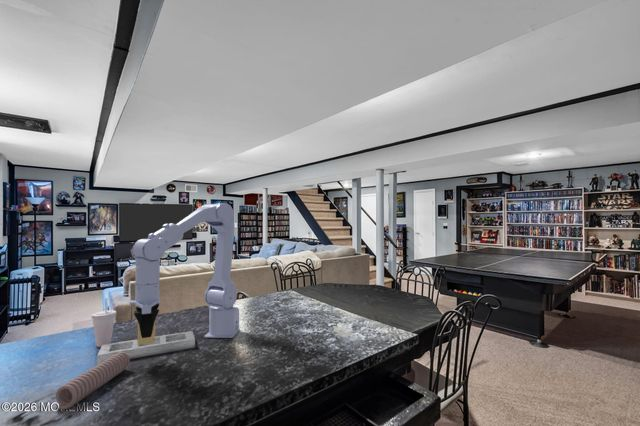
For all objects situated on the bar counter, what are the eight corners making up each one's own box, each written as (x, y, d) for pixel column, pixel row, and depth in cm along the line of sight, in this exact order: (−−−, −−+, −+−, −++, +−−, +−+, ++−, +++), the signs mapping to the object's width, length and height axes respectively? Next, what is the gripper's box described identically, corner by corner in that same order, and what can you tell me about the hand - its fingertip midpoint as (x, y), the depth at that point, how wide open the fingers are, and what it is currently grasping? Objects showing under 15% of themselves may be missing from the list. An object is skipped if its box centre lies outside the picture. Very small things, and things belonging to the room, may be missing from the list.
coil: (114, 351, 79) (50, 388, 61) (131, 349, 79) (72, 386, 61) (115, 369, 79) (51, 412, 61) (133, 368, 79) (74, 410, 61)
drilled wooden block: (158, 337, 85) (158, 314, 85) (158, 341, 81) (158, 318, 82) (134, 340, 82) (135, 317, 82) (133, 346, 79) (134, 321, 79)
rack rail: (192, 338, 99) (192, 330, 99) (194, 347, 92) (194, 338, 92) (102, 353, 88) (102, 344, 88) (97, 364, 81) (97, 355, 81)
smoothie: (120, 342, 96) (121, 297, 96) (98, 350, 90) (99, 302, 91) (107, 339, 99) (108, 295, 99) (85, 346, 93) (86, 300, 93)
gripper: (132, 280, 87) (131, 328, 86) (127, 289, 74) (126, 346, 74) (160, 278, 90) (159, 324, 90) (160, 286, 77) (159, 341, 77)
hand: (146, 334), depth 82 cm, fingers closed on drilled wooden block, 4 cm apart
